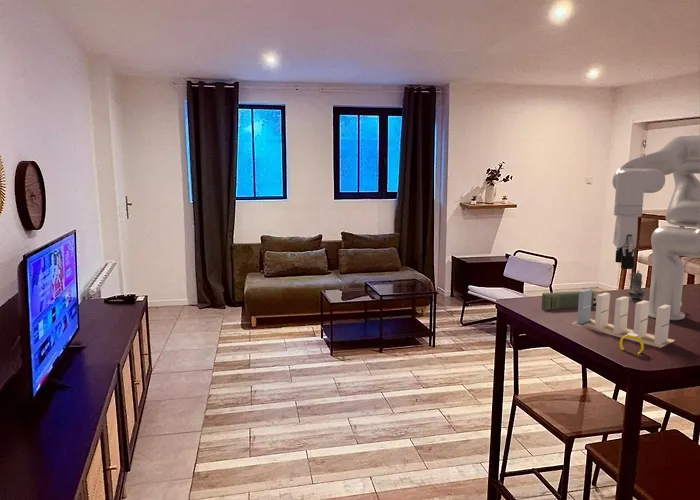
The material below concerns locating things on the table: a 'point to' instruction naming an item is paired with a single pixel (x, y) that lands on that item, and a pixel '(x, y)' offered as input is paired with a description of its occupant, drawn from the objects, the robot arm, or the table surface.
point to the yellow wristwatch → (632, 335)
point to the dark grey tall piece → (636, 288)
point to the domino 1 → (584, 306)
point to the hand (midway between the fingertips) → (623, 265)
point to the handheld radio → (562, 300)
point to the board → (609, 330)
